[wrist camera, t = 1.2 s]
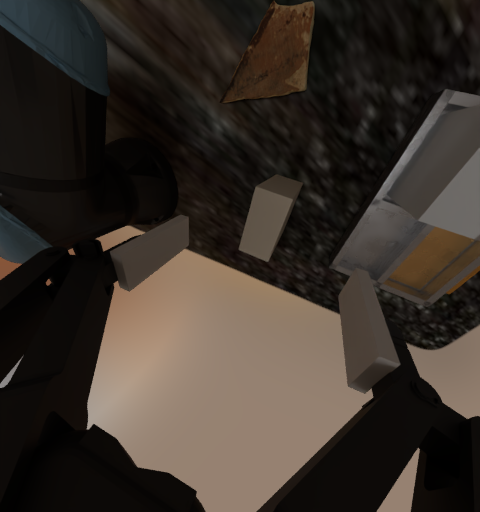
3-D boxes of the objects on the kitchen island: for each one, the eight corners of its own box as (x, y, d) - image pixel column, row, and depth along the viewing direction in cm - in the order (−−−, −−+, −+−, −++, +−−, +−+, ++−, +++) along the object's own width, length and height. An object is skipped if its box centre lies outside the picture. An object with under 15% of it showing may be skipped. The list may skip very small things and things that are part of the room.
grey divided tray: (329, 257, 30) (329, 267, 28) (430, 96, 19) (445, 88, 16) (423, 295, 28) (432, 309, 25) (608, 134, 16) (657, 132, 14)
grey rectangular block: (386, 194, 23) (417, 220, 15) (440, 114, 19) (526, 92, 11) (421, 205, 22) (474, 239, 14) (487, 125, 18) (616, 110, 10)
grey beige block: (260, 223, 32) (238, 249, 24) (276, 174, 28) (255, 186, 20) (283, 232, 31) (267, 262, 23) (303, 183, 27) (293, 199, 19)
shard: (224, 104, 26) (218, 102, 25) (220, 23, 22) (212, 14, 21) (306, 95, 23) (305, 91, 21) (318, -4, 19) (317, -17, 17)
